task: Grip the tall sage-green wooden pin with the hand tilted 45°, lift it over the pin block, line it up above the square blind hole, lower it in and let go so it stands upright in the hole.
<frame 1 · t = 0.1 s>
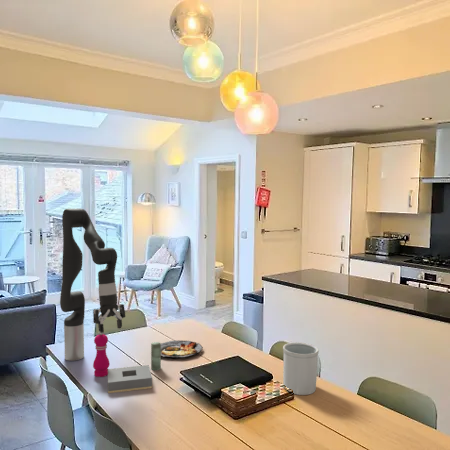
hand: (110, 330, 184), 22 cm above the table, tool pointing down, fingers open, 8 cm apart
sage pin: (156, 368, 198), on the table
pin block: (129, 383, 182), on the table
food plate: (178, 352, 220), on the table
utensil holder: (299, 388, 179), on the table
pepper mill: (101, 374, 191), on the table
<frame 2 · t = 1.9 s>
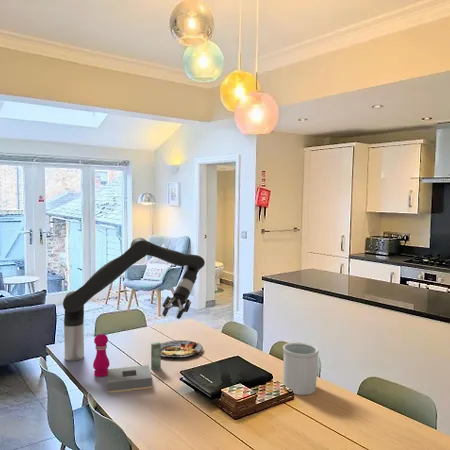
hand: (170, 316, 207), 22 cm above the table, tool tilted 45°, fingers open, 8 cm apart
nothing on the table moved.
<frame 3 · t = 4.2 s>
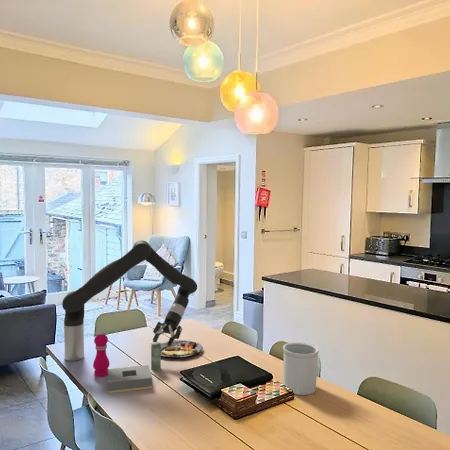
hand: (161, 343, 201), 11 cm above the table, tool tilted 45°, fingers open, 8 cm apart
nothing on the table moved.
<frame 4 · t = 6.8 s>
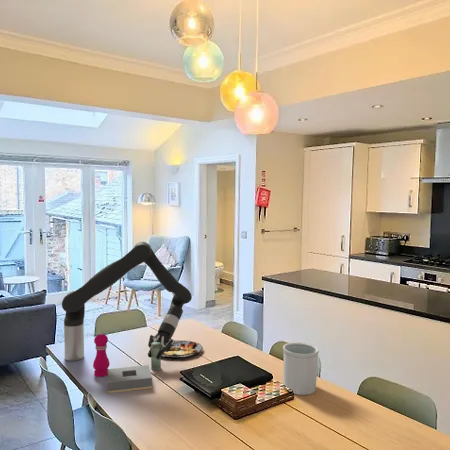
hand: (153, 357, 196), 6 cm above the table, tool tilted 45°, fingers closed on sage pin, 4 cm apart
sage pin: (156, 368, 198), on the table, touching gripper
everything else where it was.
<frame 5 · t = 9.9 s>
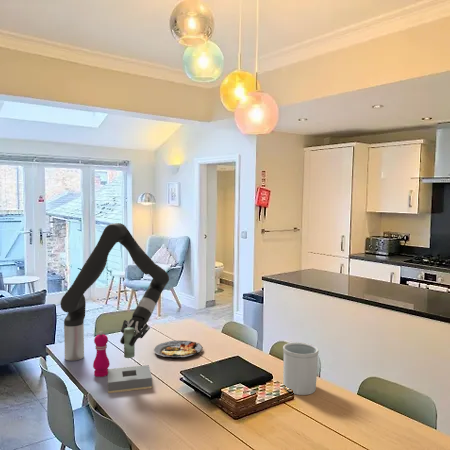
hand: (126, 344, 179), 18 cm above the table, tool tilted 45°, fingers closed on sage pin, 4 cm apart
sage pin: (129, 356, 181), point 12 cm above the table, touching gripper
everything else where it was.
when the fingers open (8 cm above the table, at t = 13.5 s): sage pin drops 1 cm, resting on pin block.
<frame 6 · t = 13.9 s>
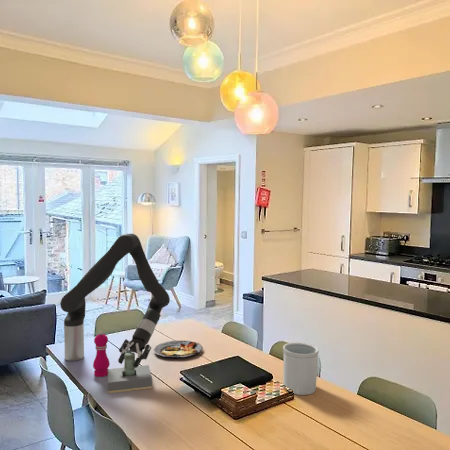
hand: (127, 364, 180), 9 cm above the table, tool tilted 45°, fingers open, 8 cm apart
sage pin: (129, 381, 182), point 1 cm above the table, touching pin block
everything else where it was.
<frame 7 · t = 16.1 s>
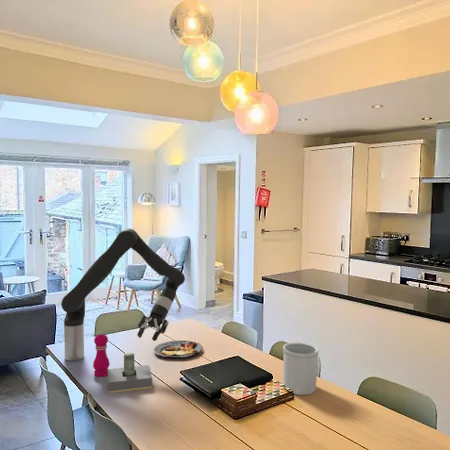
hand: (146, 338, 191), 17 cm above the table, tool tilted 45°, fingers open, 8 cm apart
nothing on the table moved.
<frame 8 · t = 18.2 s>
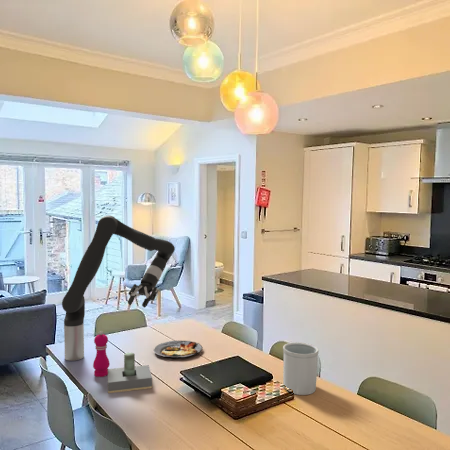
hand: (136, 305, 194), 31 cm above the table, tool tilted 45°, fingers open, 8 cm apart
nothing on the table moved.
at the end: sage pin 0.1 cm off-centre on the pin block, point 0.8 cm above the pin block's base; sage pin tilted 1°; the gripper is holding nothing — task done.
